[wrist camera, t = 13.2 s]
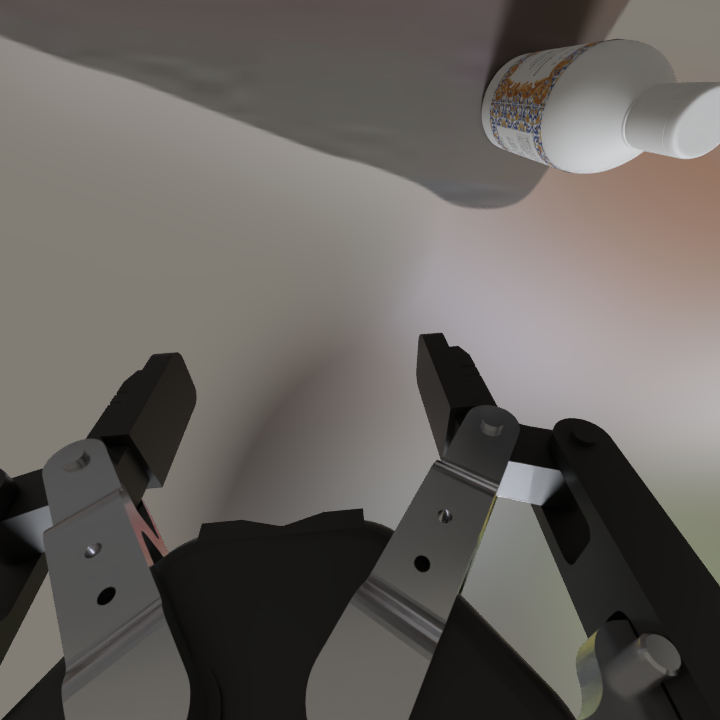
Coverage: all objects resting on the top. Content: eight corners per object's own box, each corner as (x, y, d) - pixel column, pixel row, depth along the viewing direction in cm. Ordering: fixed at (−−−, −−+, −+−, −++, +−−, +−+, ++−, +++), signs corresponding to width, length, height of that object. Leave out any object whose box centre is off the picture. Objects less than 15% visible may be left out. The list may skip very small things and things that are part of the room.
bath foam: (548, 32, 29) (812, -30, 13) (565, 120, 33) (787, 152, 17) (468, 87, 31) (619, 89, 15) (493, 164, 35) (634, 230, 19)
